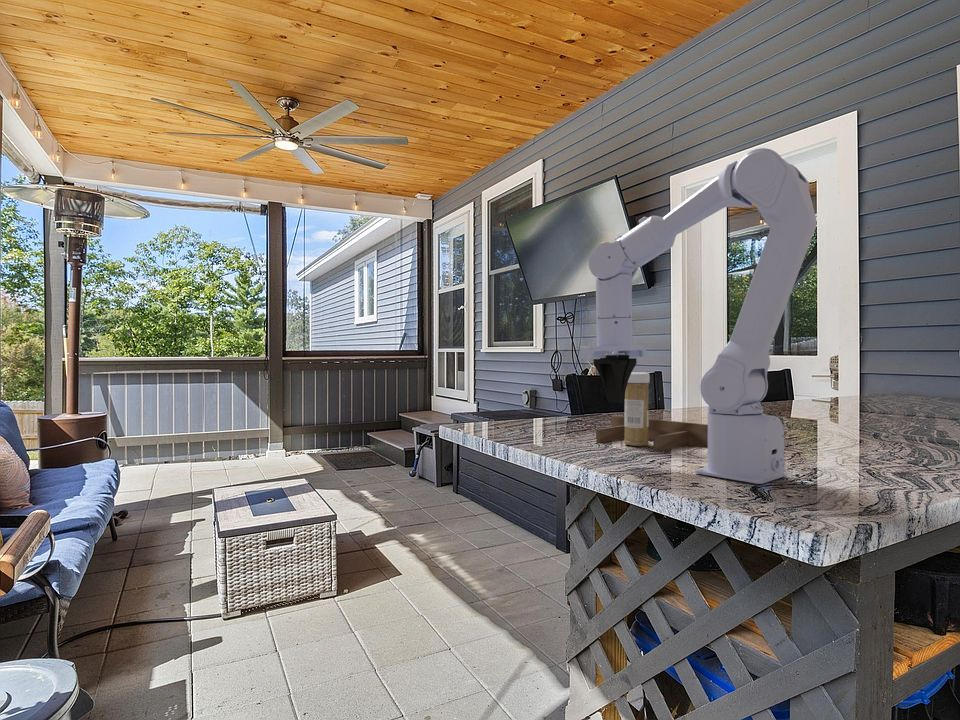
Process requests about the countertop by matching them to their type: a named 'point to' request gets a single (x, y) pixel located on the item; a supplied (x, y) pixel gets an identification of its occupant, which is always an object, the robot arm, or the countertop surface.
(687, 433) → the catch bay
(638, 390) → the sprinkles bottle
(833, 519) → the countertop surface
